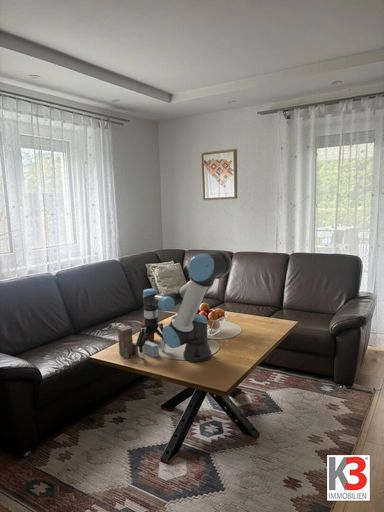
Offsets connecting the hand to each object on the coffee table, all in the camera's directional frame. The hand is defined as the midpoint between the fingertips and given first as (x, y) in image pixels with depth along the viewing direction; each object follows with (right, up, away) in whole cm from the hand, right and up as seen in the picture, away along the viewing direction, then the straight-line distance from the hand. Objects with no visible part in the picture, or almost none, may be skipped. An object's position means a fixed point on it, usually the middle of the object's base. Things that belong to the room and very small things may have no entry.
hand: (153, 354), depth 204 cm
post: (-14, -1, +1) cm, 14 cm away
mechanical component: (-5, +2, +22) cm, 23 cm away
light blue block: (-1, 0, +1) cm, 2 cm away
